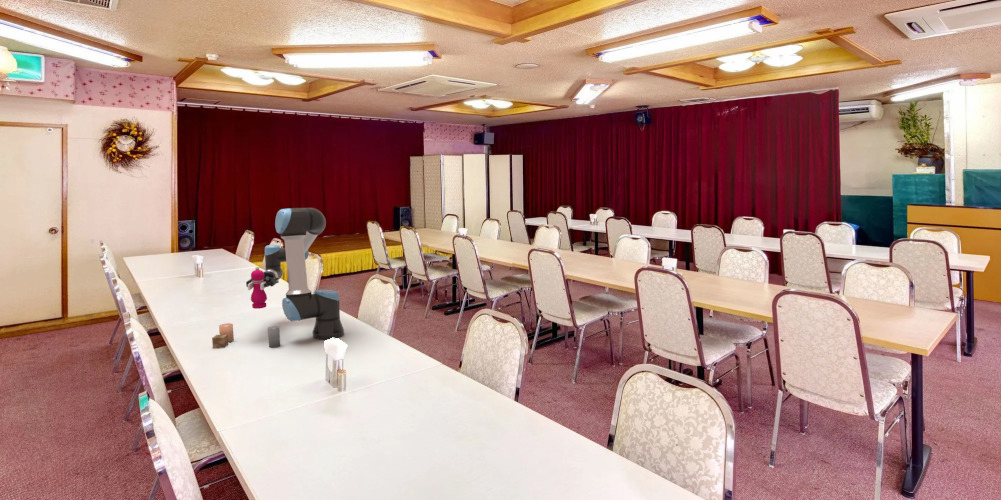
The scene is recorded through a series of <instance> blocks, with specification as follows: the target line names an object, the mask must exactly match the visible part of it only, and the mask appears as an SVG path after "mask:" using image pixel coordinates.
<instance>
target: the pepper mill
mask: <svg viewBox="0 0 1001 500" xmlns="http://www.w3.org/2000/svg"><path fill="white" fill-rule="evenodd" d="M264 272H265V271H263V270H261V269H260V267H259V266H255V270H252V271H251V273H250V279H251V278H252V279H253V280H252V281H253V282H252V283H253V285H254V287H253V288H252V293H251V295H250V301H251V302H252V304H251V306H252V308H253V309H256V310H257V309H264V308H266V307H267V302H266V301H267V300H268V297H267V296H268V295H267V293H266V291H265V290H264V289H265V288H264V289H263V290H261V289H260V284H261V283H263V278H264Z"/></svg>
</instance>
